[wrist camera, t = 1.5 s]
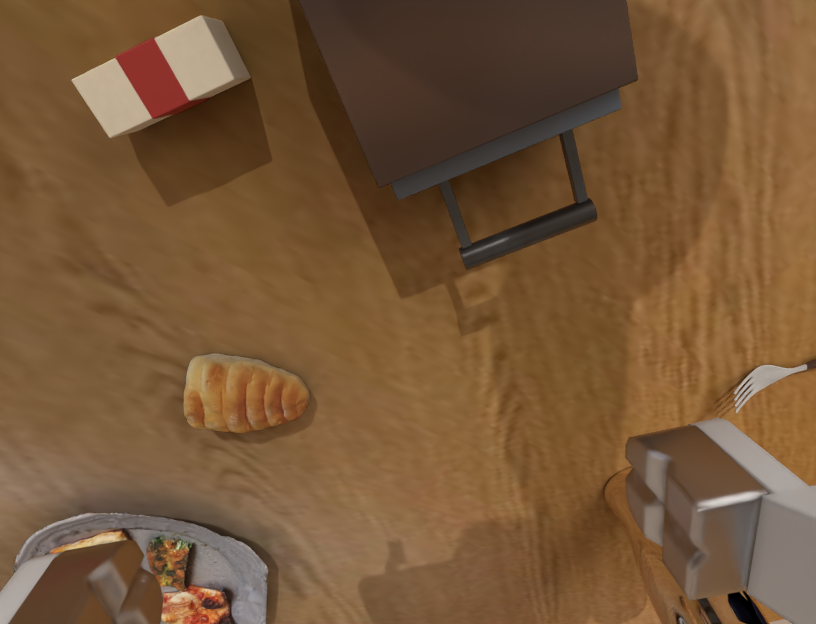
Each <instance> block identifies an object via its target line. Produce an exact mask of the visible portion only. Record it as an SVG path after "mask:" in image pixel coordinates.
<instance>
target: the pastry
mask: <svg viewBox="0 0 816 624" xmlns="http://www.w3.org/2000/svg"><path fill="white" fill-rule="evenodd" d="M309 399H310V394H309V390H308V388H307V387H306V385H305V383H304V382H303V381H302V380H301V378H300V377H298V376H296V375H294V374H293V373H290V372H286V371H285V370H284V369H282V368H276V367H274V366H271V365H269V364H268V363H267V362H265V361H262V360H259V359H255V360H253V359H250V358H246V357H239V356H226V355H224V354H209V355H202V356H196V357H194V358H193V359H192V360H191V362H190V364H189V367H188V370H187V375H186V388H185V391H184V415H185V417H186V418H187V420H188V423H189V424H190V425H191V426H192V427H194V428H197V429H203V428H206V429H211V430H215V431H221V432H229V431H232V432H235V433H245V432H250V431H255V430H261V429H263V428H268V427H273V426H276V425H279V424H285V423H287V422H289V421H292V420H295V419H297V418H298V417H299V416H300V415H301V414H302V413H303V412H304V411H305V409H306V408H307V406H308V403H309Z"/></svg>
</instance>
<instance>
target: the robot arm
mask: <svg viewBox="0 0 816 624" xmlns="http://www.w3.org/2000/svg"><path fill="white" fill-rule="evenodd" d="M625 457H626V459H627V460H628V461H629V463H630V464H631V465H632V467H633V468H632V470H631V471H630V472H629V474H628V475H627V476H626V478H625V493H626V498H627V501H628V505H629V508H630V512H631V514H632V516H633V518H634V520H635V522H636V524H637V525H638V527H639V528H640V530H641V531H642V533H643V534H644V536H645V537H646V538H648V539H649V540H651V541H653V542H655V543H657V544H658V545H660V546H662V562H663V564H664V565H665V567H666V568H667V569H668V571H669V572H670V574H671V575H672V577H673V578H674V579H675V581H676V582H677V584H678V585H679V587H680V588H681V590H682V591H683V592H684V594H685V595H686V597H687V598H688V600H689V601H691V600H697V599H702V598H708V597H713V596H719V595H724V594H730V593H735V592H741V591H746V590H747V594H748V595H750V596H751V597H753V598H754V599H756V600H757V601H759V602H760V603H762V604H763V605H765V606H766V607H768V608H769V609H771V610H772V611H774V612H775V613H777V614H778V615H780V616H782V617H783V618H785V619H786V620H788V621H789V622H791V623H792V624H816V485H813V486H808V485H807V484H806V483H805V482H803V481H802V480H801V479H800V478H798V477H797V476H796V475H795V474H793V473H792V472H791V471H790V470H788V469H787V468H786V467H785V466H784V465H782V464H781V463H780V462H779V461H777V460H776V459H775V458H774V457H772V456H771V455H770V454H769V453H767V452H766V451H765V450H764V449H762V448H761V447H760V446H759V445H758V444H756V443H755V442H754V441H753V440H751V439H750V438H749V437H748V436H746V435H745V434H744V433H743V432H741V431H740V430H739V429H738V428H736V427H735V426H734V425H733V424H732V423H730V422H729V421H727V420H724V419H721V418H715V419H710V420H706V421H701V422H697V423H692V424H689V425H688V426H681V427H676V428H671V429H666V430H662V431H657V432H652V433H647V434H643V435H638V436H633V437H629V438H628V441H627V443H626V450H625ZM144 556H145V555H144V554H143V552H142V550H141V549H140V547H139V546H138V544H137V542H136V541H132V540H122V541H116V542H111V543H105V544H99V545H94V546H88V547H83V548H77V549H71V550H66V551H64V552H59V553H53V554H47V555H41V556H36V557H33V558H31V559H30V560H28V561H26V562H25V563H23V564H21V566H20V567H19V568H18V570H17V571H16V572H15V574H14V575H13V576H12V578H11V579H10V580H9V581H8V583H7V584H6V585H5V587H4V588H3V589H2V591H1V592H0V624H160V622H161V617H162V607H163V596H162V591H161V586H160V584H159V582H158V580H157V578H156V576H155V575H154V574H152V573H150V572H149V571H147V570H145V569H143V568H141V567H140V566H141V564H142V561H143V558H144Z"/></svg>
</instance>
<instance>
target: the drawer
mask: <svg viewBox="0 0 816 624" xmlns="http://www.w3.org/2000/svg"><path fill="white" fill-rule="evenodd" d="M621 108H622V106H621V100H620V95H619V89H616V90H613V91H611V92H608V93H606V94H604V95H601V96H599V97H596V98H594V99H592V100H589V101H587V102H584V103H582V104H580V105H577V106H575V107H572V108H570V109H568V110H565V111H563V112H560V113H558V114H556V115H553V116H551V117H548V118H546V119H544V120H541V121H539V122H536V123H534V124H532V125H529V126H527V127H524V128H522V129H520V130H517V131H515V132H512V133H510V134H508V135H505V136H503V137H500V138H498V139H496V140H493V141H491V142H489V143H486V144H484V145H481V146H479V147H477V148H474V149H472V150H469V151H467V152H465V153H462V154H460V155H457V156H455V157H453V158H450V159H448V160H445V161H443V162H441V163H438V164H436V165H433V166H431V167H429V168H426V169H424V170H421V171H419V172H417V173H414V174H412V175H409V176H407V177H405V178H402V179H400V180H397V181H395V182H393V183H390V184H391V186H392V188H393V191H394V193H395V196H396V198H397V200H401V199H403V198H406V197H408V196H410V195H413V194H415V193H418V192H420V191H423V190H425V189H427V188H430V187H432V186H435V185H437V184H439V187H440V190H441V192H442V195H443V198H444V201H445V203H446V206H447V209H448V212H449V214H450V217H451V220H452V222H453V225H454V228H455V231H456V233H457V236H458V239H459V242H460V244H461V248H459V251H460V254H461V257H462V260H463V262H464V265H465V267H466V269H467V270H468V269H471V268H473V267H476V266H479V265H481V264H484V263H487V262H489V261H492V260H494V259H497V258H500V257H502V256H505V255H507V254H510V253H513V252H515V251H518V250H521V249H523V248H526V247H528V246H531V245H534V244H536V243H539V242H542V241H544V240H547V239H549V238H552V237H555V236H557V235H560V234H562V233H565V232H568V231H570V230H573V229H576V228H578V227H581V226H583V225H586V224H589V223H591V222H594V221H596V220H597V211H596V208H595V206H594V203H593V202H592V200H591V199H590V198H587V193H586V189H585V184H584V180H583V175H582V171H581V166H580V162H579V157H578V153H577V148H576V144H575V139H574V135H573V130H572V129H573V128H576V127H578V126H581V125H583V124H586V123H588V122H590V121H593V120H595V119H598V118H600V117H603V116H605V115H607V114H610V113H612V112H615V111H617V110H620V109H621ZM556 135H559V137H560V141H561V145H562V149H563V154H564V158H565V162H566V166H567V171H568V175H569V179H570V184H571V188H572V192H573V196H574V201H575V202H576V203H574V204H571V205H569V206H566V207H563V208H561V209H558V210H556V211H553V212H551V213H548V214H545V215H543V216H540V217H538V218H535V219H533V220H530V221H527V222H525V223H522V224H520V225H517V226H515V227H512V228H509V229H507V230H504V231H502V232H499V233H497V234H494V235H491V236H489V237H486V238H484V239H481V240H479V241H476V242H473V243H471V241H470V238H469V236H468V233H467V230H466V227H465V224H464V221H463V219H462V216H461V213H460V210H459V207H458V204H457V202H456V199H455V196H454V193H453V190H452V188H451V185H450V182H449V179H452V178H454V177H457V176H459V175H462V174H464V173H466V172H469V171H471V170H474V169H476V168H479V167H481V166H483V165H486V164H488V163H491V162H493V161H496V160H498V159H500V158H503V157H505V156H508V155H510V154H513V153H515V152H517V151H520V150H522V149H525V148H527V147H530V146H532V145H535V144H537V143H539V142H542V141H544V140H547V139H549V138H552V137H554V136H556Z"/></svg>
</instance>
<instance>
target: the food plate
mask: <svg viewBox="0 0 816 624" xmlns="http://www.w3.org/2000/svg"><path fill="white" fill-rule="evenodd" d="M128 513H129V512H128ZM128 513H125V514H122V513H120V514H118V513H110V514H107V513H84V514H81V515H76V516H74V517H71V519H69V518H68V519H64V520H63V521H59V522H57V523H53V524H51V525H48V526H46V527H45V528H42V529H41V530H38V532H36V533H34V534H33V535H32V536H31V537H30V538H28V539H27V541H25V543H24V544H23V545H22V546H23V547H21V550H20V552H19V554H18V555H17V556H16V559H15V562H16V563H15V564H17V565H16V566H17V570H18V568H19V567H20V566H21V564H23V563H25V562H26V561H28V560H30V559H31V558H33V557H36V556H41V555H47V554H53V553H59V552H64V551H66V550H71V549H77V548H83V547H88V546H94V545H99V544H105V543H111V542H116V541H122V540H132V541H136V542H137V544H138V546H139V547H140V549H141V550H142V552H143V554H144V555H145V556H144V558H143V561H142V564H141V566H140V567H141V568H143V569H145V570H147V571H149V572H150V573H152V574H154V575H155V576H156V578H157V580H158V582H159V584H160V586H161V591H162V596H163V607H162V617H161V622H160V624H266V621H267V620H266V608H267V587H268V586H267V583H266V582H265V581H266V580H267V578H266V574H267V576H268V568H267V566H266V564H265V563H264V562H263V561H262V560H261V559H260V557H259V556H258V555H257V554H256V553H255V552H254V551H253V550H252V549H251V548H250V547H249V546H247V545H246V544H244V543H243V542H241V541H236V540H235V539H234V538H233V539H232V538H230V536H228V537H225V536H220V535H219V534H217V533H214V532H212V531H211V530H208V529H206V528H205V527H201V526H198V525H196V524H190V523H188V522H187V523H186V522H184V521H178V520H173V519H172V518H170V519H167V518H168V517H166V518H161V517H162V516H161V517H154V516H149V517H148V516H146V515H141V514H140V515H139V516H137V515H133V514H128ZM127 514H128V515H127ZM14 572H16V569H15V566H14Z"/></svg>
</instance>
